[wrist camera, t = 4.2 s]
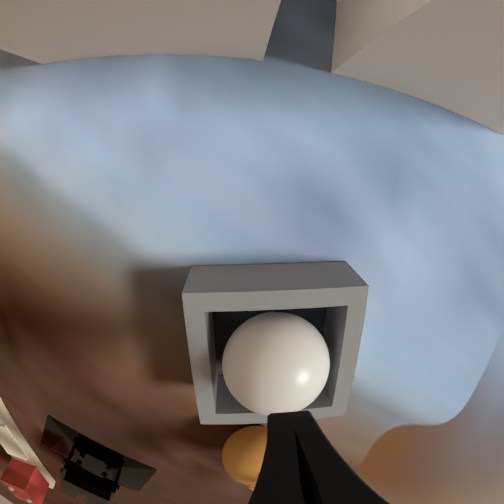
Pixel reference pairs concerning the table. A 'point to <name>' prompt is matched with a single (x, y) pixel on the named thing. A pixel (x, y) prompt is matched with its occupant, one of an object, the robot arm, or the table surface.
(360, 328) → the housing
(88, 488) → the black piece
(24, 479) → the space track
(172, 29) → the white brackets
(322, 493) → the robot arm
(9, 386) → the table surface
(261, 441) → the figurine
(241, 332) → the white glossy sphere
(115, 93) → the table surface
